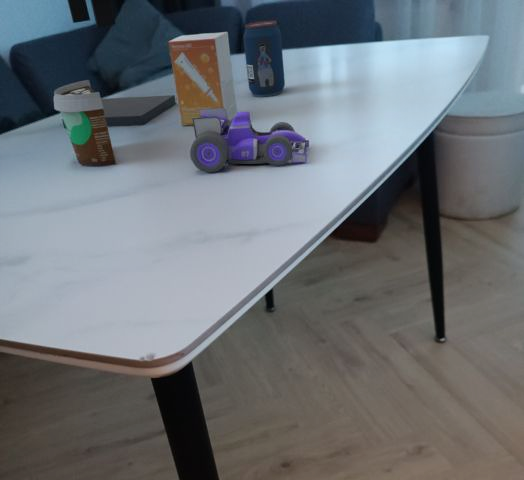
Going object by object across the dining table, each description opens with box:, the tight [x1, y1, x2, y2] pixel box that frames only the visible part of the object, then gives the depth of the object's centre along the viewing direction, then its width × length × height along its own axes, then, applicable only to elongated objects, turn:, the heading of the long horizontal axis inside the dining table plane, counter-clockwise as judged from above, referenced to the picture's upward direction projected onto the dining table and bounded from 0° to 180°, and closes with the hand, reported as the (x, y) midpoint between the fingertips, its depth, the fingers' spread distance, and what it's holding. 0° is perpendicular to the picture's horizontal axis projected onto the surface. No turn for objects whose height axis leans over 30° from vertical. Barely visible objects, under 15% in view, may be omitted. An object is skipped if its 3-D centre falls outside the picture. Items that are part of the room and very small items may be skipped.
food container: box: [53, 79, 117, 167], centre depth 87 cm, size 12×6×10 cm, turn 21°
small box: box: [168, 31, 238, 126], centre depth 98 cm, size 8×6×13 cm
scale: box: [61, 94, 177, 129], centre depth 111 cm, size 17×15×4 cm
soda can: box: [243, 20, 286, 98], centre depth 112 cm, size 7×7×12 cm
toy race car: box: [189, 108, 310, 174], centre depth 80 cm, size 10×15×6 cm, turn 83°
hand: (93, 23), depth 93 cm, fingers open, 13 cm apart
